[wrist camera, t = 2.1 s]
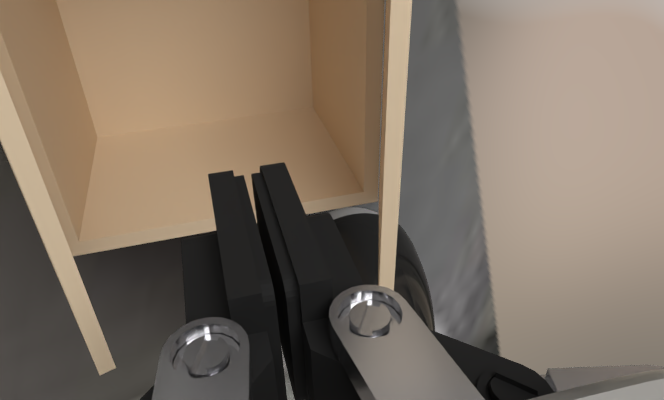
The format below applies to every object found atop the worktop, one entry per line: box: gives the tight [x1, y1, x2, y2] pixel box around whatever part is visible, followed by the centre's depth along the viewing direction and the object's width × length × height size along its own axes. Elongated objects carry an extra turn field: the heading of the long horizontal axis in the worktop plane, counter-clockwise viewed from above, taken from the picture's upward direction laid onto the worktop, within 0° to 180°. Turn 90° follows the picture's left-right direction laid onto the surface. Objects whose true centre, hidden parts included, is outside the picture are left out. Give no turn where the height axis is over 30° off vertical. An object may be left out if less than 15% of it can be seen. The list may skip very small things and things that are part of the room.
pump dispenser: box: [328, 207, 435, 332], centre depth 40 cm, size 10×10×15 cm
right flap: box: [378, 0, 412, 291], centre depth 20 cm, size 20×8×1 cm
